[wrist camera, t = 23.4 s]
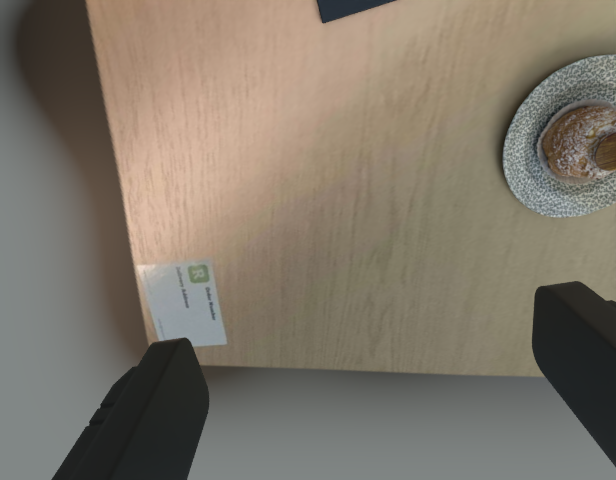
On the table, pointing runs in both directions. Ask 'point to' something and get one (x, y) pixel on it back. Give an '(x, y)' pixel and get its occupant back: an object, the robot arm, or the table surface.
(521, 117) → the pastry
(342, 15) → the placemat
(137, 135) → the table surface
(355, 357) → the table surface
